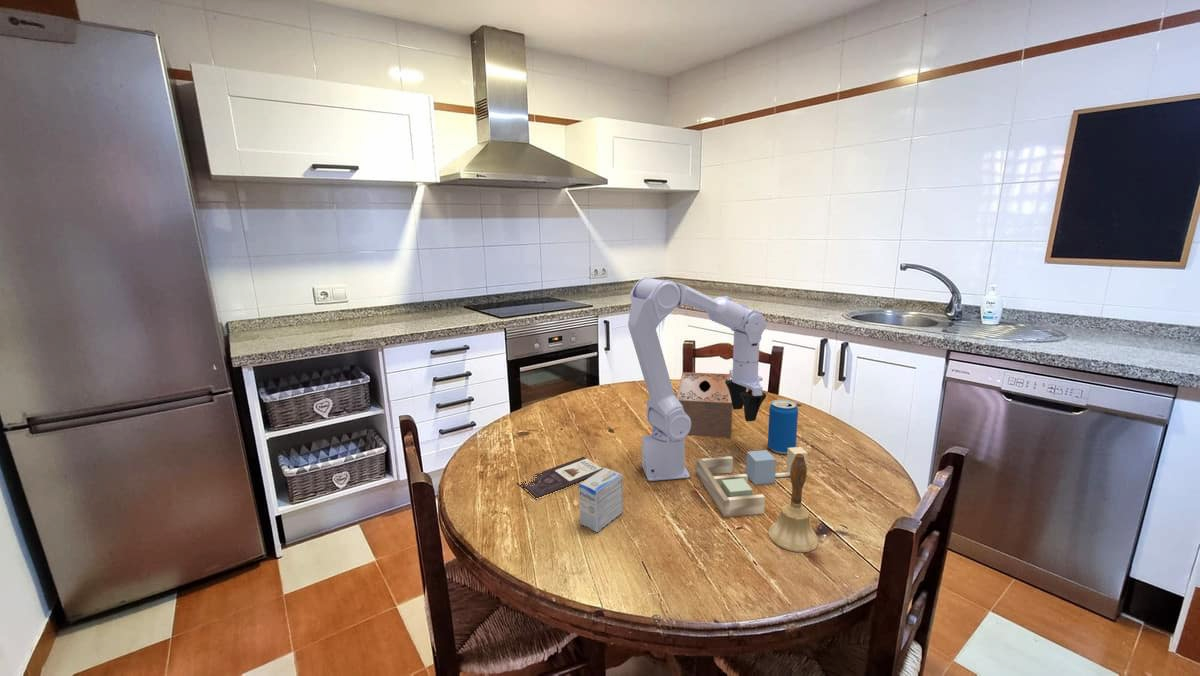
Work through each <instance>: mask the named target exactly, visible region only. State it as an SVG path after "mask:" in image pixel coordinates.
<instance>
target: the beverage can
mask: <svg viewBox="0 0 1200 676" xmlns="http://www.w3.org/2000/svg"><path fill="white" fill-rule="evenodd" d="M797 406H798V405H797V403H796V402H794V401H792V400H788V399H775V400H772V401H771V404H770V406H769V409H768V411H769V412H768V429H767V430H768V432H767V447H768V448H769V449H770V450H771V451H772V452H774V453H776V454H780V455H787V452H788V448H793V447H797V434H798V418H799V408H798V407H797Z"/></svg>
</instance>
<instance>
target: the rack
mask: <svg viewBox="0 0 1200 676" xmlns="http://www.w3.org/2000/svg"><path fill="white" fill-rule="evenodd" d="M733 470H734V458H733V456H719V457H707V458H706V457H705V458H704V457H703V458H697V459H696V474H697V475H696V476H698V478H699V479H700V481H701V483H702V484H703V485H704V487H705V489H706V491H707V493H708V494H709V496H710V497H711V499H712V501H713V503H715V504H714V505H716V507H717V508H718V510H719V512H720V513H721V515H722V516H723V518H730V517H742V516H752V515H762V514H763V515H764V514H765V504H766V496H765V495H764V494H762V493H761V494H752V495H749V496H738V497H727V496H726V494H725V493H724V491H723V490H722V480H729V479H740V478H743V479H744V480H745V481H746V482H747V484H749V483H748V480H749V477H748V476H747V475H746V473H740V474H739V473H738V474H731V473H733ZM719 474H720V475H719ZM721 474H722V475H721ZM723 474H727V475H723ZM714 475H716V476H714Z"/></svg>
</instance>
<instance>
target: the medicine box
mask: <svg viewBox="0 0 1200 676" xmlns="http://www.w3.org/2000/svg"><path fill="white" fill-rule="evenodd" d="M623 491H624V490H623V474H622V473H620V472H618V471H615V470H612V469H610V468H607V467H603V469H602V470H601V471H599V472H597V473H596V474H594V475H593V476H591V477H590V478H588V479H586V480H585V481H583V482H581V483H579V484H578V495H579V514H580V515H579V517H580V518H579V520H580V525H581V526H583V525H584V526H583V527H585V526H587V527H589V528H590V529H589V528H588V529H589V530H591V529H592V530H591V531H593V530H595V531H596V532H595V531H594V532H595V533H597V532H598V533H599V532H600V531H601V529H602V528H603V527H604V528H605V527H606V525H607V524H608V525H610V524H611V523H612V522H613V521H614V520H615V519H616V517H617V518H618V517H619V516H620V515H622V514H623V513H624V510H623V509H624V502H623V499H624V498H623V497H624V495H623ZM612 520H613V521H612ZM611 521H612V522H611ZM608 525H607V526H608ZM587 527H586V528H587ZM604 528H603V529H604ZM603 529H602V530H603Z"/></svg>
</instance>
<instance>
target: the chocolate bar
mask: <svg viewBox="0 0 1200 676" xmlns="http://www.w3.org/2000/svg"><path fill="white" fill-rule="evenodd" d="M602 469H604V467H601V466H600V465H598V464H597V463H595V462H593V461H591V460H590V459H588V458H587V457H585V456H581V457H579V458H576V459H574V460H571V461H568V462H564V463H563V464H562V463H561V464H559V465H558V466H553V467H551V468H548V469H546V470H543V471H541V472H542V473H540V472H537V473H536V474H534V475H537V476H535V477H537V478H535V481H534V480H533V482H532V481H531V482H529V483H530V484H529V483H528V485H527V484H526V485H527V486H526V485H525V483H526V481H525V483H524V482H523V483H524V484H523V483H522V482H521V483H522V484H521V485H522V486H523V487H524V488H525V489H527V490H528V491H529V492H530V493H531V494H532V495H533V496H534V497H535V498H539V497H542V496H544V495H547V494H550V493H553V492H555V491H558V490H561V489H564V488H566V487H569V486H571V485H573V484H576V483H579V482H581V481H584V480H586V479H588V478H590V477H591V476H593V475H594V474H596V473H597V472H599V471H601V470H602ZM539 473H540V474H539ZM541 474H542V475H541ZM533 477H534V476H533ZM533 479H534V478H533ZM531 480H532V479H531ZM539 481H540V482H539ZM533 483H534V484H535V485H534V484H533ZM581 483H582V482H581ZM579 484H580V483H579ZM530 485H531V486H530ZM532 485H533V486H532ZM576 485H577V484H576ZM571 487H572V486H571ZM569 488H570V487H569ZM564 490H565V489H564ZM535 498H534V499H535Z"/></svg>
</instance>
